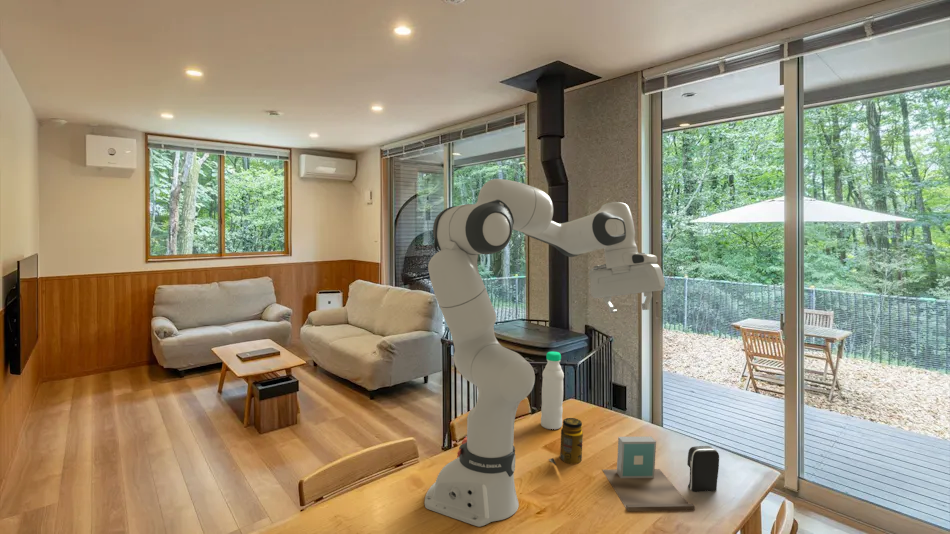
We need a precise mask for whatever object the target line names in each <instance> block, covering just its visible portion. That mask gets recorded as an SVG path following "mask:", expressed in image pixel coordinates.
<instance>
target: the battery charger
mask: <svg viewBox="0 0 950 534" xmlns="http://www.w3.org/2000/svg"><path fill="white" fill-rule="evenodd" d="M719 465H720V455H719V452H718V451H717V450H716V449H714V448H713V447H712V446H709V445H700V446H691V447H690V448H689V449H688V453H687V466H688V467H689V483H688V488H689V490H690V491H691V492H692V493H700V492H703V493H705V492H717V490H718V488H717V487H718V477H719V471H720V470H719V469H720V468H719V467H720V466H719Z"/></svg>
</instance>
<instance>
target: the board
mask: <svg viewBox="0 0 950 534" xmlns="http://www.w3.org/2000/svg"><path fill="white" fill-rule="evenodd" d="M602 472H603V474H604V475H605V478H607V480H608V482H609V483H610V485H611V486H612V488H613V489H614V491H615V493H616V495H617V496H618V498H619V499H620V501H621V504H623V506H624V507H625V510H626V511H627V512H670V511H672V512H675V511H679V512H680V511H682V512H683V511H685V512H686V511H688V512H689V511H695V509H696V506H695V505H694V504H693V503H689V502H688V501H687V500H686V499H685V497H684V496H683V495H682V493H680V491H679V489H677V488H676V487H675V485H673V483H672V482H671V481H670V480H669V479H668V477H667V476H666V475H665V474H664V472H663V471H662V470H661V469H660V468H655V471H654V478H620V476H619V475H618V473H617V468H616V469H602Z"/></svg>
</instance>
